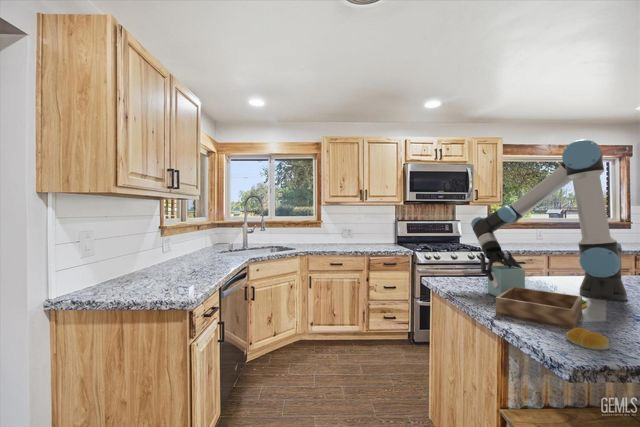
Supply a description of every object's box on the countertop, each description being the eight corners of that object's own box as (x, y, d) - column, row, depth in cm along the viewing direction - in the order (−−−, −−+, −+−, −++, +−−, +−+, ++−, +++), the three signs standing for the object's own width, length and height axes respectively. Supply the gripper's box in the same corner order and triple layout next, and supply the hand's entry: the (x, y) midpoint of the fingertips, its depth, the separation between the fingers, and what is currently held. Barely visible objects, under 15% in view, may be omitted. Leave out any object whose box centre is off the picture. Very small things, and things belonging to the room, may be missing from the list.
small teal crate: (510, 292, 143) (510, 265, 143) (524, 298, 133) (524, 269, 133) (487, 292, 143) (487, 265, 143) (500, 298, 133) (500, 269, 133)
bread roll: (597, 353, 83) (597, 338, 83) (561, 340, 92) (561, 326, 92) (617, 348, 86) (617, 333, 86) (580, 336, 95) (580, 322, 95)
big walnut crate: (582, 313, 115) (582, 296, 115) (574, 330, 99) (574, 310, 99) (512, 301, 130) (512, 286, 130) (495, 314, 114) (495, 297, 114)
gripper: (510, 249, 153) (532, 291, 137) (462, 250, 153) (479, 291, 137) (517, 239, 148) (541, 281, 132) (468, 240, 148) (486, 282, 132)
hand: (509, 286), depth 135 cm, fingers closed on small teal crate, 10 cm apart
